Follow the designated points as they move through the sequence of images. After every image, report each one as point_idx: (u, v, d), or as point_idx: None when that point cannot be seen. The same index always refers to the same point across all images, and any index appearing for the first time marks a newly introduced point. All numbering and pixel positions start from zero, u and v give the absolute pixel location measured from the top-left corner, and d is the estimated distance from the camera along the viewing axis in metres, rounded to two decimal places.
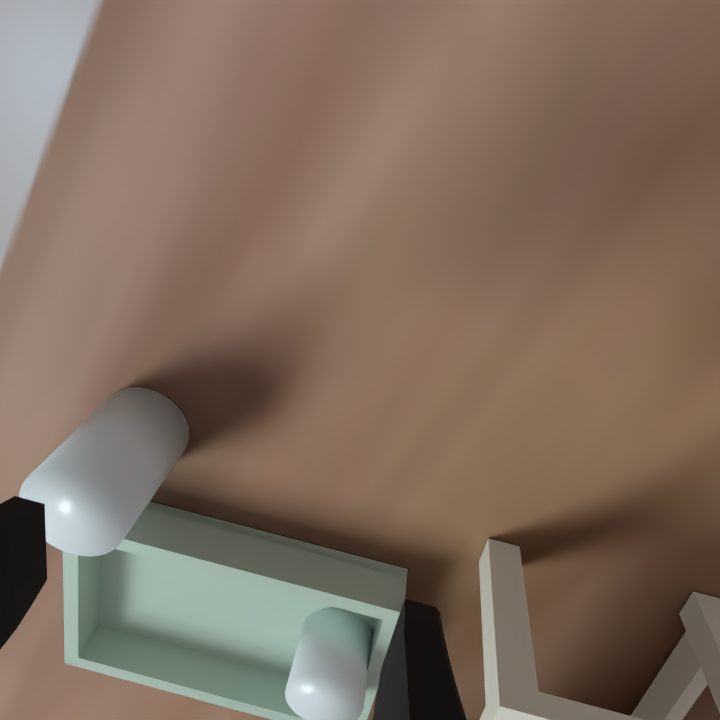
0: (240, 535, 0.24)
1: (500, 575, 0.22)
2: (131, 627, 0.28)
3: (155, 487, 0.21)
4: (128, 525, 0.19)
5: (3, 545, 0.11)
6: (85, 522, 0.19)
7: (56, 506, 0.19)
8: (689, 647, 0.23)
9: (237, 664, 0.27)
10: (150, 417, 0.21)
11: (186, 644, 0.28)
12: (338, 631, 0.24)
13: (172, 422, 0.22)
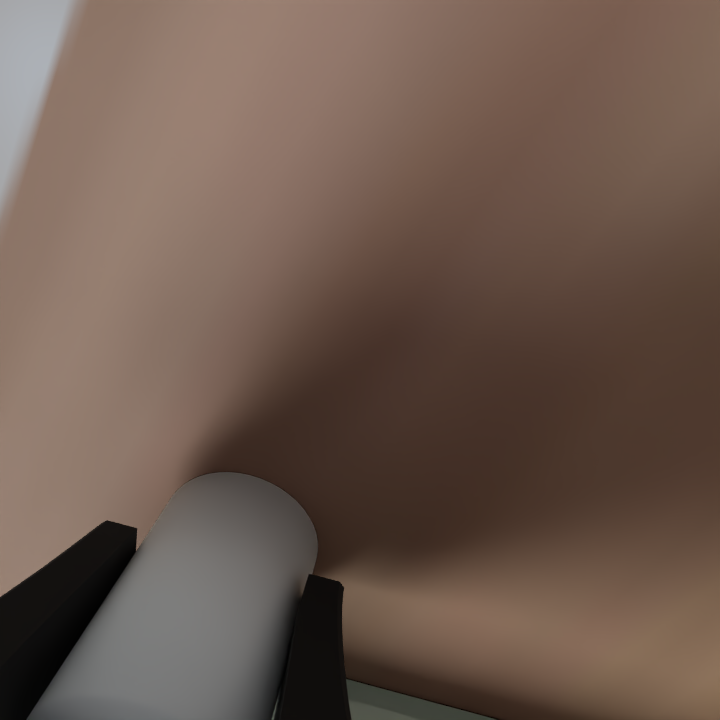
0: (395, 714, 0.14)
1: None
2: None
3: None
4: None
5: (105, 572, 0.11)
6: None
7: None
8: None
9: None
10: (265, 538, 0.11)
11: None
12: None
13: (298, 540, 0.12)
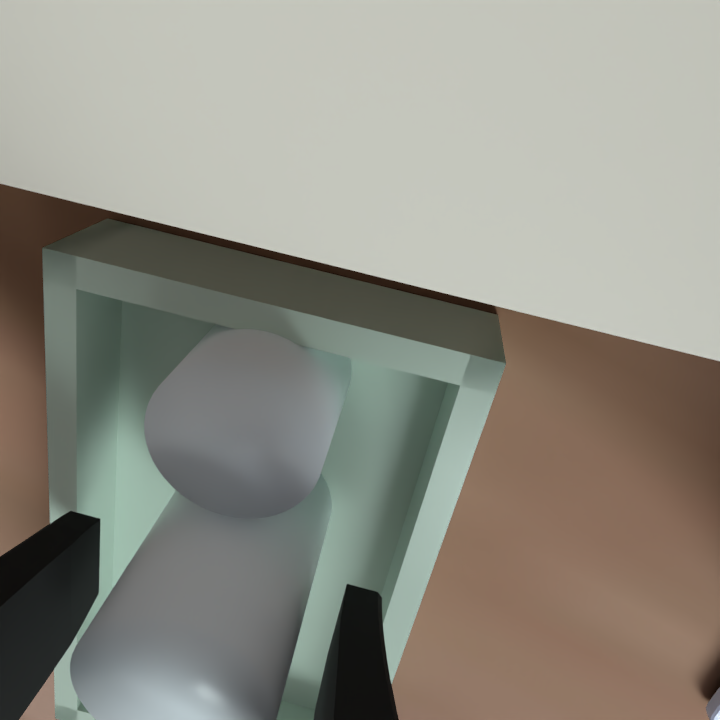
0: None
1: None
2: None
3: None
4: (277, 712, 0.10)
5: (65, 561, 0.11)
6: (195, 710, 0.10)
7: (141, 684, 0.10)
8: None
9: (394, 549, 0.14)
10: None
11: None
12: None
13: (313, 494, 0.13)
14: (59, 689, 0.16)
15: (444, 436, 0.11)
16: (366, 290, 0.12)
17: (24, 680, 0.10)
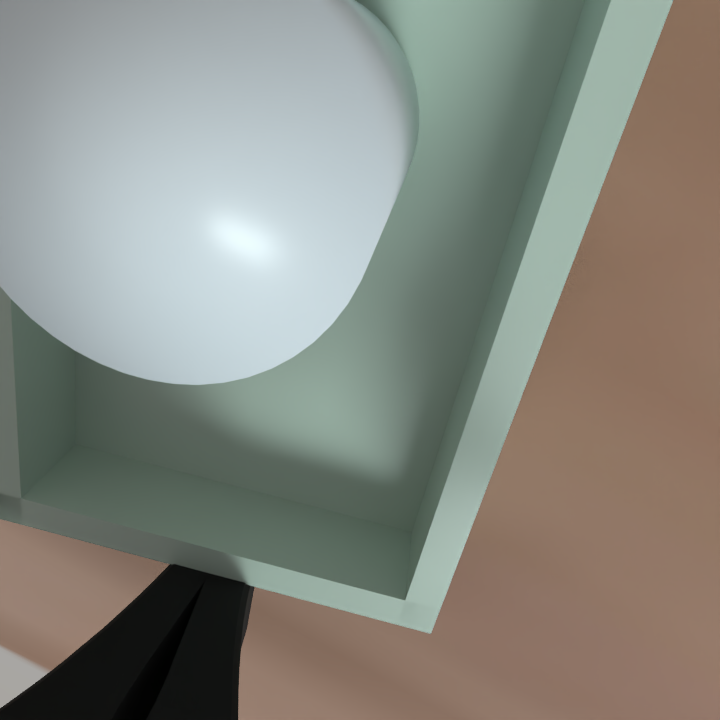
0: None
1: None
2: (411, 463, 0.11)
3: (399, 186, 0.06)
4: (379, 228, 0.05)
5: (199, 597, 0.11)
6: (202, 218, 0.05)
7: (84, 149, 0.04)
8: None
9: (517, 201, 0.09)
10: (353, 1, 0.07)
11: (454, 342, 0.10)
12: None
13: (400, 52, 0.08)
14: None
15: None
16: None
17: None
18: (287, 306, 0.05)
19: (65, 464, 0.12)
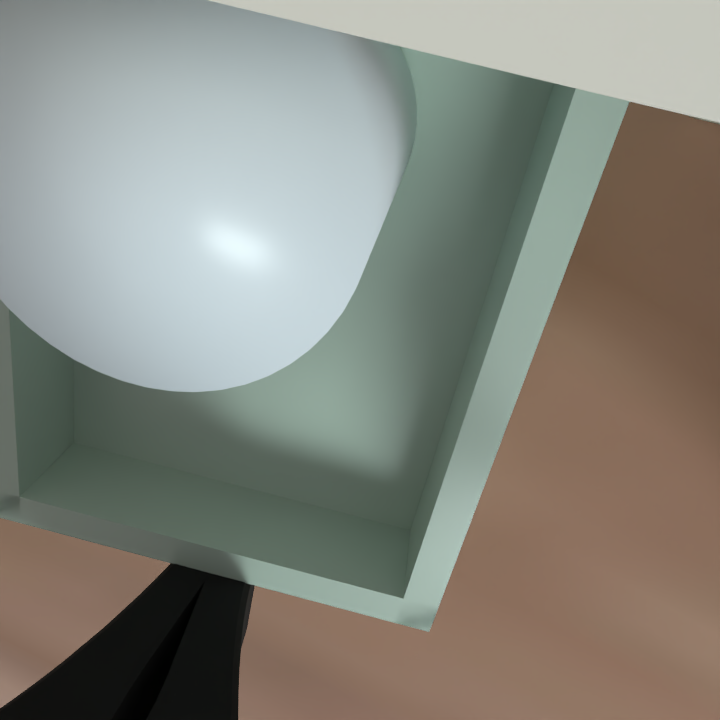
0: None
1: None
2: (409, 462, 0.11)
3: (395, 187, 0.06)
4: (373, 236, 0.05)
5: (199, 597, 0.11)
6: (197, 227, 0.05)
7: (77, 161, 0.04)
8: None
9: (514, 198, 0.09)
10: None
11: (452, 340, 0.10)
12: None
13: (396, 50, 0.08)
14: None
15: None
16: None
17: None
18: (282, 315, 0.05)
19: (63, 462, 0.12)
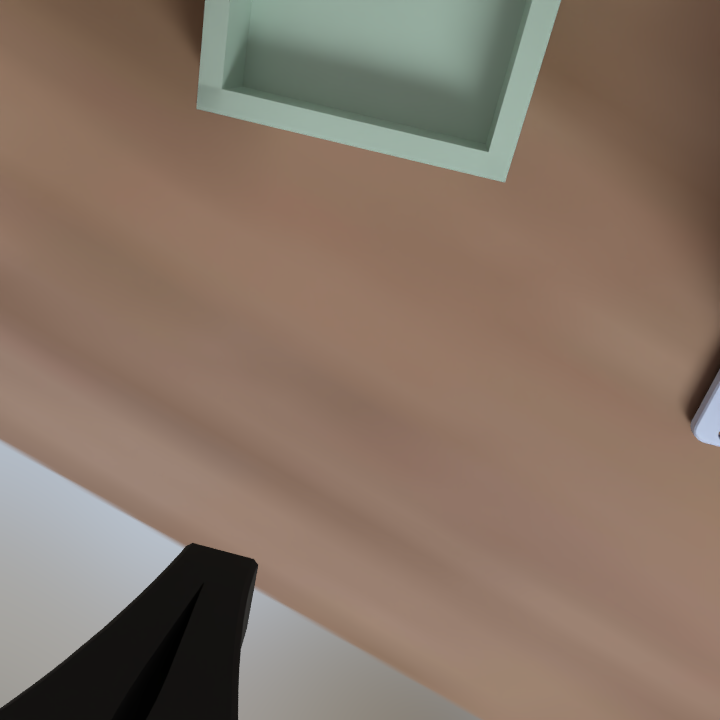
0: None
1: None
2: (488, 79, 0.16)
3: None
4: None
5: (199, 597, 0.11)
6: None
7: None
8: None
9: None
10: None
11: None
12: None
13: None
14: (205, 55, 0.15)
15: None
16: None
17: None
18: None
19: (241, 88, 0.16)
